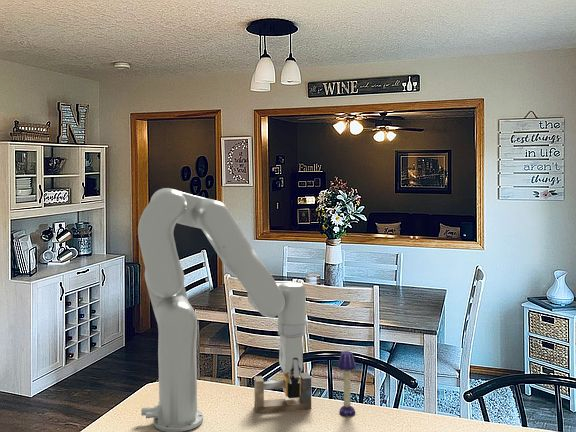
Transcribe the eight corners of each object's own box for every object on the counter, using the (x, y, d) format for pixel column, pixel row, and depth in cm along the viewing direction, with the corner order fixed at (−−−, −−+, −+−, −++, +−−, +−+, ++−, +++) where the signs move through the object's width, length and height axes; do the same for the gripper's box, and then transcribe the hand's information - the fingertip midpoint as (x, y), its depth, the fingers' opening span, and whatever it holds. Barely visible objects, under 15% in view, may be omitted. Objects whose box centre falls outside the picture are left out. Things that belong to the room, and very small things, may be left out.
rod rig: (256, 412, 152) (256, 381, 151) (254, 406, 156) (254, 376, 155) (311, 408, 154) (311, 378, 154) (307, 402, 159) (307, 372, 158)
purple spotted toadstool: (354, 417, 148) (354, 355, 147) (336, 416, 149) (337, 354, 148) (355, 410, 153) (356, 349, 152) (338, 409, 154) (339, 348, 153)
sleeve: (286, 396, 152) (286, 378, 152) (282, 389, 157) (282, 372, 157) (300, 395, 153) (300, 377, 153) (296, 388, 158) (297, 371, 158)
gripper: (273, 321, 162) (273, 383, 163) (283, 337, 145) (283, 407, 146) (298, 319, 163) (298, 381, 164) (312, 336, 146) (312, 404, 148)
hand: (291, 392), depth 155 cm, fingers closed on sleeve, 5 cm apart
